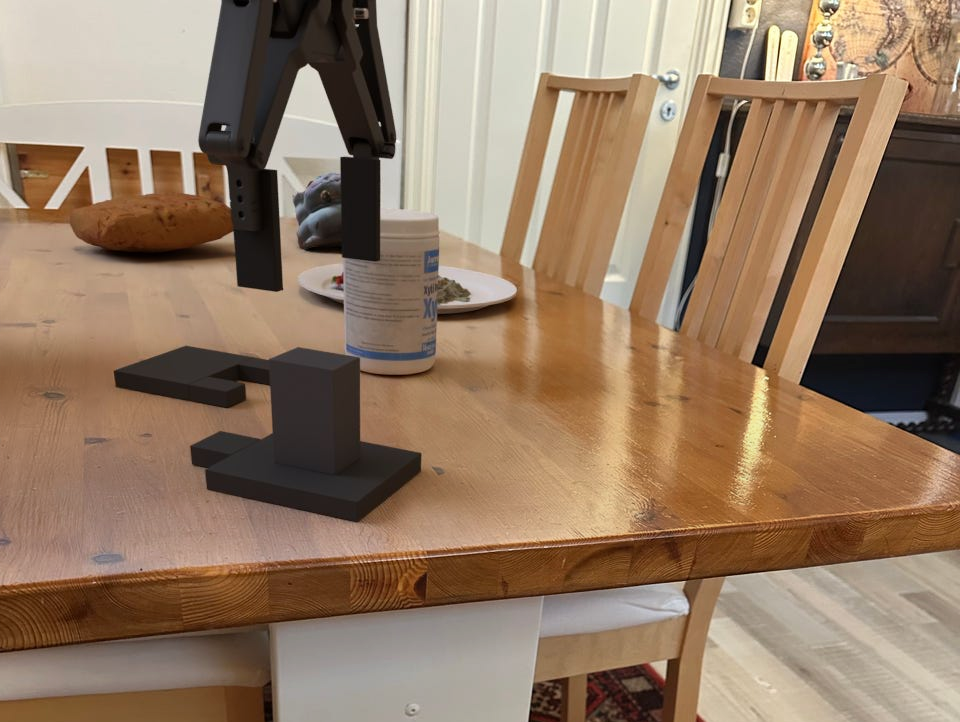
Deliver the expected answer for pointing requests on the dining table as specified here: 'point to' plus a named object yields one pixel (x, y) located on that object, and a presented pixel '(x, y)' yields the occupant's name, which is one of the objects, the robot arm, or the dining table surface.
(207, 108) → the robot arm
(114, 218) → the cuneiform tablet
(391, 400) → the dining table surface
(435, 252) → the supplement tub
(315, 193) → the blue creature figurine
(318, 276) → the plated food
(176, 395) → the base pad
